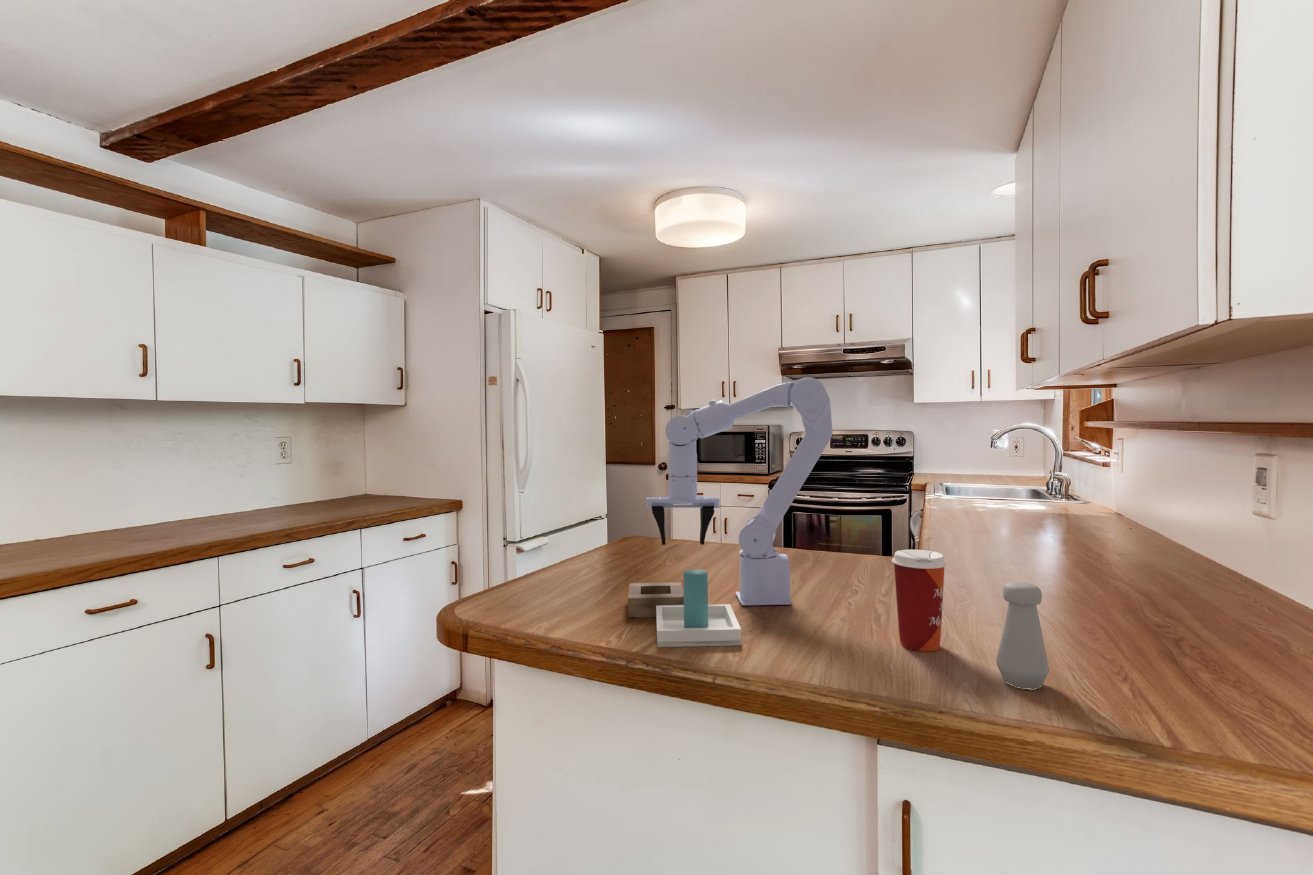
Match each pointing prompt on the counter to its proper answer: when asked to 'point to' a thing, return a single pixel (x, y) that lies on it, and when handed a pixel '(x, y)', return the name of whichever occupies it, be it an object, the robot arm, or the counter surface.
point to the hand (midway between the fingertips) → (682, 543)
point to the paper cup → (919, 598)
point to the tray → (718, 633)
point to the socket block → (652, 597)
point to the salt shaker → (1022, 638)
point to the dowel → (695, 599)
